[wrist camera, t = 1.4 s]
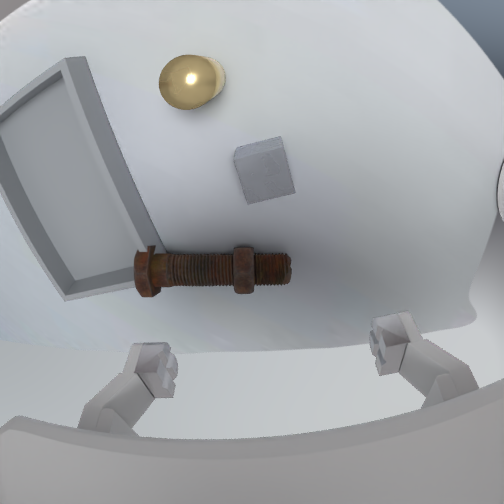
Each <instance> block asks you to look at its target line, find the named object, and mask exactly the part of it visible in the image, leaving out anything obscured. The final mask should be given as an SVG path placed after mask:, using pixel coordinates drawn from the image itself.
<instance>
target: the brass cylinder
mask: <svg viewBox="0 0 504 504" xmlns="http://www.w3.org/2000/svg"><path fill="white" fill-rule="evenodd" d="M225 79H226V77H225V71H224V69H223V67H222V66H221V64H220V63H219V62H217V61H216V60H214V59H212V58H209V57H203V56H197V55H182V56H179V57H176V58H174V59H173V60H171V61H170V62H169V63H168V64H167V65H166V66H165V67H164V68H163V70H162V72H161V74H160V78H159V89H160V92H161V95H162V97H163V98H164V99H165V101H166V102H167V103H168V104H170V105H171V106H173V107H175V108H178V109H182V110H190V109H195V108H198V107H200V106H202V105H203V104H205V103H206V102H208V101H209V100H211V99H212V98H214V97H215V96H216V95H218V94H219V93H220V92H221V90H222V89H223V87H224V84H225Z"/></svg>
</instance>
